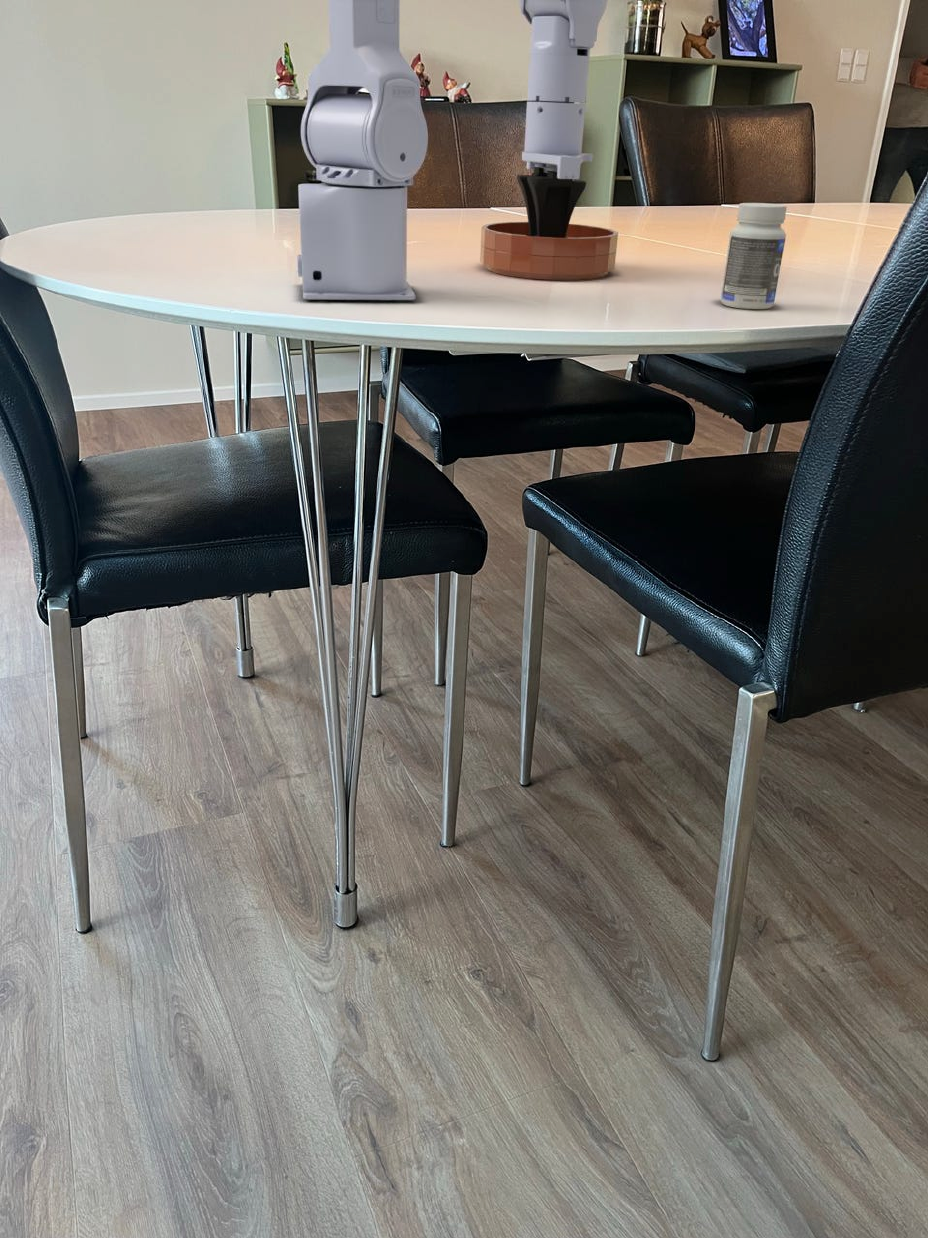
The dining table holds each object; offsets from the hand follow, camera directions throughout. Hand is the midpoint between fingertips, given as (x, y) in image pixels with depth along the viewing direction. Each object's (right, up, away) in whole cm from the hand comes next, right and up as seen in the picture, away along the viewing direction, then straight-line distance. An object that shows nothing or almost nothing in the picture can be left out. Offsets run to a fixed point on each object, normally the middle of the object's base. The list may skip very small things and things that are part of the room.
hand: (545, 250), depth 100 cm
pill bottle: (+17, -10, -13) cm, 24 cm away
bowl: (0, -2, +1) cm, 2 cm away
